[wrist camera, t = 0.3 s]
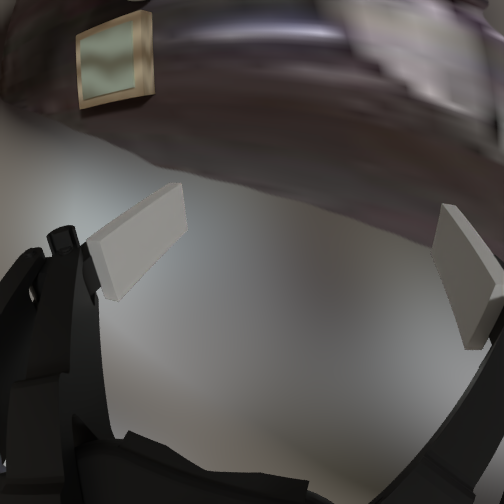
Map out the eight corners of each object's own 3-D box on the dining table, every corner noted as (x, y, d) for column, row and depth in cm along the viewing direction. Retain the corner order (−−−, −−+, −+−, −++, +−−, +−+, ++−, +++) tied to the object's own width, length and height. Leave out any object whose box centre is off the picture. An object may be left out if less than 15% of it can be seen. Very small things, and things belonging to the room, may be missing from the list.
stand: (87, 35, 37) (74, 35, 34) (152, 12, 33) (139, 9, 30) (91, 107, 44) (78, 109, 41) (155, 94, 40) (142, 95, 37)
